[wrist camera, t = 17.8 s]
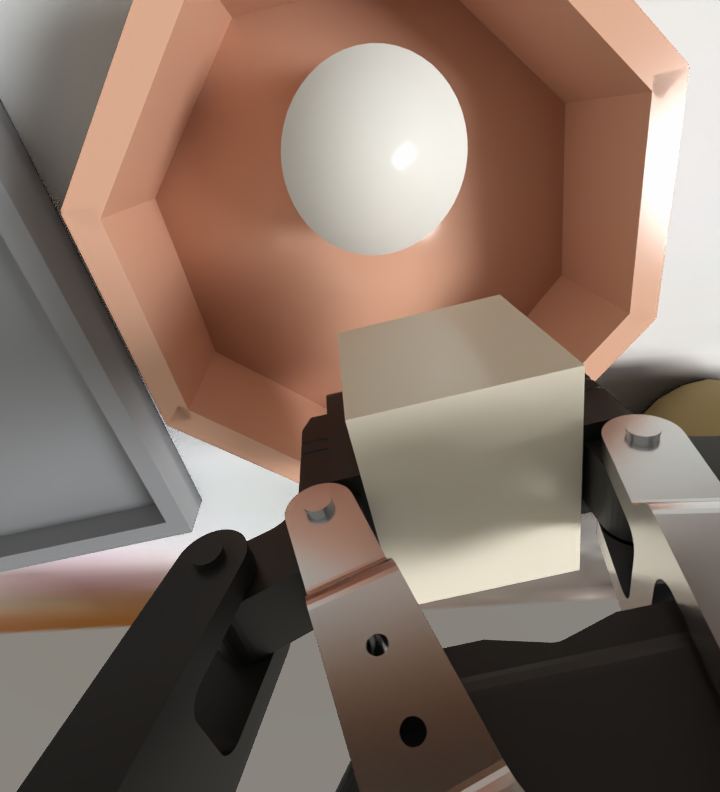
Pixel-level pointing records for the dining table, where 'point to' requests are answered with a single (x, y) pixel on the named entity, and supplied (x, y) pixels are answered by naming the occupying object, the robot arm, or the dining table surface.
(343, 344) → the sandy stone
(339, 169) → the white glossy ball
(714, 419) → the squeeze bottle
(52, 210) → the parts tray
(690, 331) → the dining table surface
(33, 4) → the dining table surface
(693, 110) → the dining table surface
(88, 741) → the robot arm
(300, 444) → the bowl
